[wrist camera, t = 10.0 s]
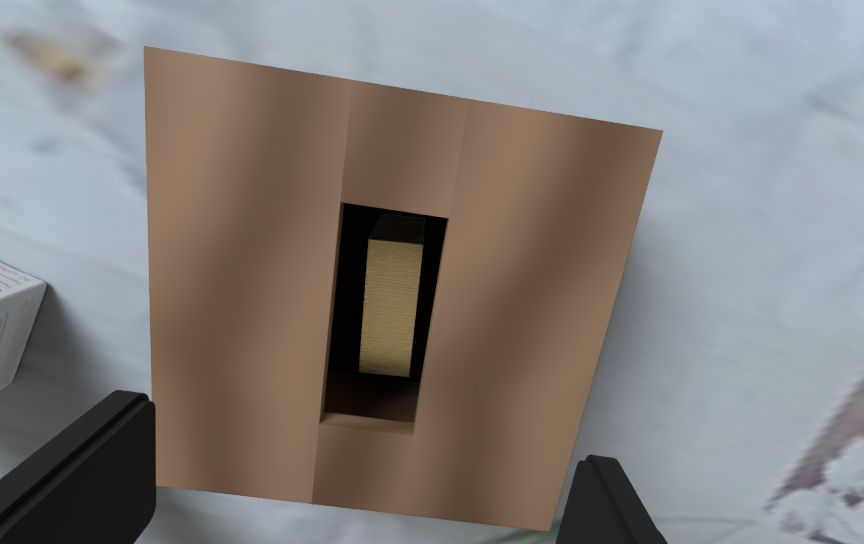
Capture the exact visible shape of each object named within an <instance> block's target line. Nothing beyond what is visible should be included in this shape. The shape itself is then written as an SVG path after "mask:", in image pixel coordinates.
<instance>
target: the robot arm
mask: <svg viewBox="0 0 864 544" xmlns="http://www.w3.org/2000/svg"><path fill="white" fill-rule="evenodd" d="M155 507H156V408H155V404H154V402H151V401H149V398H148V396H147V395H146V394H145V393H137V392H130V391H123V390H116V391H114V392H112V393H111V394H110V395H108V396H107V397H106V398H105V399H103V400H102V401H101V402H99V403H98V404H97V405H95V406H94V407H93V408H92V409H90V410H89V411H88V412H86V413H85V414H84V415H83V416H81V417H80V418H79V419H77V420H76V421H75V422H74V423H72V424H71V425H70V426H68V427H67V428H66V429H65V430H63V431H62V432H61V433H59V434H58V435H57V436H56V437H54V438H53V439H52V440H50V441H49V442H48V443H47V444H45V445H44V446H43V447H41V448H40V449H39V450H38V451H36V452H35V453H34V454H32V455H31V456H30V457H29V458H27V459H26V460H25V461H23V462H22V463H21V464H20V465H18V466H17V467H16V468H14V469H13V470H12V471H11V472H9V473H8V474H7V475H5V476H4V477H3V478H2V479H0V544H134V542H135V541H136V540H137V538H138V537H139V536H140V534H141V533H142V532H143V530H144V529H145V528H146V526H147V525H148V524H149V522H150V521H151V519H152V517H153V514H154V511H155ZM556 544H667V542H666V540H665V539H664V537H663V536H662V534H661V533H660V532H659V531H658V530H657V528H656V527H655V525H654V523H653V521H652V520H651V518H650V516H649V514H648V513H647V511H646V509H645V507H644V506H643V504H642V502H641V500H640V499H639V497H638V495H637V493H636V491H635V490H634V488H633V486H632V484H631V483H630V481H629V479H628V477H627V476H626V474H625V472H624V470H623V469H622V467H621V465H620V463H619V462H618V461H617V459H615V458H610V457H603V456H595V455H589V456H588V457H587V458H586V460H585V461H582V460H581V461H579V462H578V464H577V467H576V471H575V475H574V478H573V482H572V486H571V489H570V493H569V496H568V500H567V504H566V507H565V511H564V515H563V518H562V522H561V526H560V529H559V533H558V536H557V540H556Z"/></svg>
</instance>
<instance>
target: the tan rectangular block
mask: <svg viewBox="0 0 864 544" xmlns="http://www.w3.org/2000/svg"><path fill="white" fill-rule="evenodd" d="M423 239H424V218H422V217H412V216H403V215H394V214H385V213H382V215H381V217H380V219H379V221H378V223H377V225H376V226H375V228H374V230H373V232H372V234H371V236H370V238H369V241H368V255H367V268H366V282H365V295H364V309H363V322H362V336H361V349H360V363H359V372H362V373H372V374H383V375H393V376H403V377H409V371H410V362H411V352H412V343H413V334H414V325H415V316H416V307H417V297H418V288H419V279H420V270H421V261H422V252H423Z"/></svg>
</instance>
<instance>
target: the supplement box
mask: <svg viewBox="0 0 864 544" xmlns="http://www.w3.org/2000/svg"><path fill="white" fill-rule="evenodd" d="M46 286H47V284H46V283H45V282H44V281H42V280H39V279H37V278H34V277H32V276H30V275H27V274H25V273H22V272H20V271H18V270H16V269H13V268H11V267H9V266H7V265H5V264H2V263H0V390H2V389H3V388H5V387H7V386H8V385H10V384H12V382H13V379H14V377H15V374H16V371H17V369H18V366H19V363H20V361H21V357H22V355H23V352H24V349H25V347H26V344H27V341H28V338H29V335H30V333H31V330H32V328H33V325H34V322H35V319H36V316H37V314H38V311H39V308H40V305H41V302H42V300H43V296H44V294H45V290H46Z"/></svg>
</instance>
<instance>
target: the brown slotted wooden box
mask: <svg viewBox="0 0 864 544" xmlns="http://www.w3.org/2000/svg"><path fill="white" fill-rule="evenodd" d="M144 79H145V122H146V164H147V207H148V249H149V292H150V334H151V377H152V402H154V404H155V408H156V486H164V487H172V488H181V489H189V490H198V491H207V492H215V493H224V494H232V495H241V496H249V497H258V498H266V499H275V500H283V501H292V502H300V503H309V504H318V505H326V506H335V507H343V508H352V509H360V510H369V511H377V512H386V513H394V514H403V515H411V516H420V517H429V518H437V519H446V520H454V521H463V522H471V523H480V524H488V525H497V526H505V527H514V528H522V529H531V530H540V531H548V532H550V529H551V526H552V522H553V519H554V515H555V512H556V508H557V504H558V501H559V497H560V494H561V490H562V487H563V483H564V480H565V476H566V473H567V469H568V466H569V462H570V458H571V455H572V451H573V448H574V444H575V441H576V437H577V434H578V430H579V427H580V423H581V420H582V416H583V413H584V409H585V405H586V402H587V398H588V395H589V391H590V388H591V384H592V381H593V377H594V374H595V370H596V367H597V363H598V359H599V356H600V352H601V349H602V345H603V342H604V338H605V335H606V331H607V328H608V324H609V321H610V317H611V314H612V310H613V306H614V303H615V299H616V296H617V292H618V289H619V285H620V282H621V278H622V275H623V271H624V268H625V264H626V261H627V257H628V253H629V250H630V246H631V243H632V239H633V236H634V232H635V229H636V225H637V222H638V218H639V215H640V211H641V207H642V204H643V200H644V197H645V193H646V190H647V186H648V183H649V179H650V176H651V172H652V169H653V165H654V162H655V158H656V154H657V151H658V147H659V144H660V140H661V137H662V133H663V131H662V130H656V129H650V128H644V127H638V126H632V125H625V124H619V123H613V122H607V121H601V120H595V119H589V118H583V117H576V116H570V115H564V114H558V113H552V112H546V111H540V110H534V109H527V108H521V107H515V106H509V105H503V104H497V103H491V102H484V101H478V100H472V99H466V98H460V97H454V96H448V95H442V94H435V93H429V92H423V91H417V90H411V89H405V88H399V87H393V86H386V85H380V84H374V83H368V82H362V81H356V80H350V79H343V78H337V77H331V76H325V75H319V74H313V73H307V72H301V71H294V70H288V69H282V68H276V67H270V66H264V65H258V64H252V63H245V62H239V61H233V60H227V59H221V58H215V57H209V56H202V55H196V54H190V53H184V52H178V51H172V50H166V49H160V48H153V47H147V46H144ZM344 203H350V204H357V205H364V206H370V207H377V208H384V209H390V210H397V211H404V212H410V213H417V214H424V215H430V216H437V217H444V218H447V224H446V230H445V237H444V243H443V249H442V255H441V261H440V267H439V273H438V279H437V285H436V292H435V298H434V304H433V310H432V316H431V322H430V328H429V334H428V340H427V347H426V353H425V359H424V365H423V371H422V377H421V383H413V382H406V381H398V380H390V379H383V378H375V377H368V376H360V375H352V374H345V373H337V372H330V371H328V361H329V351H330V341H331V331H332V321H333V310H334V300H335V290H336V280H337V270H338V259H339V249H340V239H341V229H342V219H343V208H344Z"/></svg>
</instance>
